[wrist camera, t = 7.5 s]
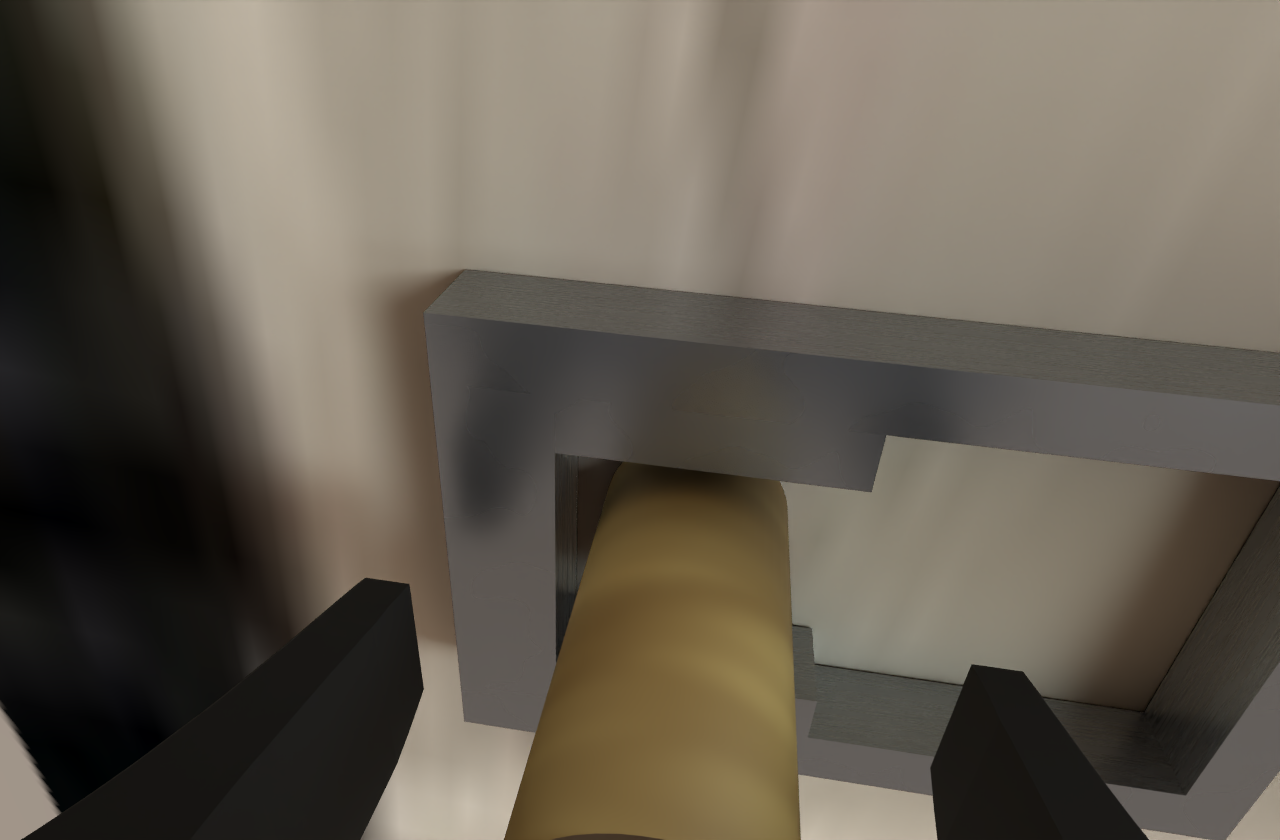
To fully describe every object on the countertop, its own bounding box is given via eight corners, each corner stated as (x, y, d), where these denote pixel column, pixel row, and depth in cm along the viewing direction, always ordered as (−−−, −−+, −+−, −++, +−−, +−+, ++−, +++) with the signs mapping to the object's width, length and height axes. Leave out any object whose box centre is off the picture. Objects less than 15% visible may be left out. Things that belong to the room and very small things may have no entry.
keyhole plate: (1437, 369, 10) (1543, 434, 9) (1179, 756, 14) (1223, 842, 13) (464, 269, 11) (423, 312, 10) (491, 653, 15) (463, 721, 14)
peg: (806, 452, 12) (860, 1103, 5) (767, 592, 14) (768, 1234, 7) (616, 419, 12) (424, 1005, 5) (599, 562, 14) (435, 1155, 7)
